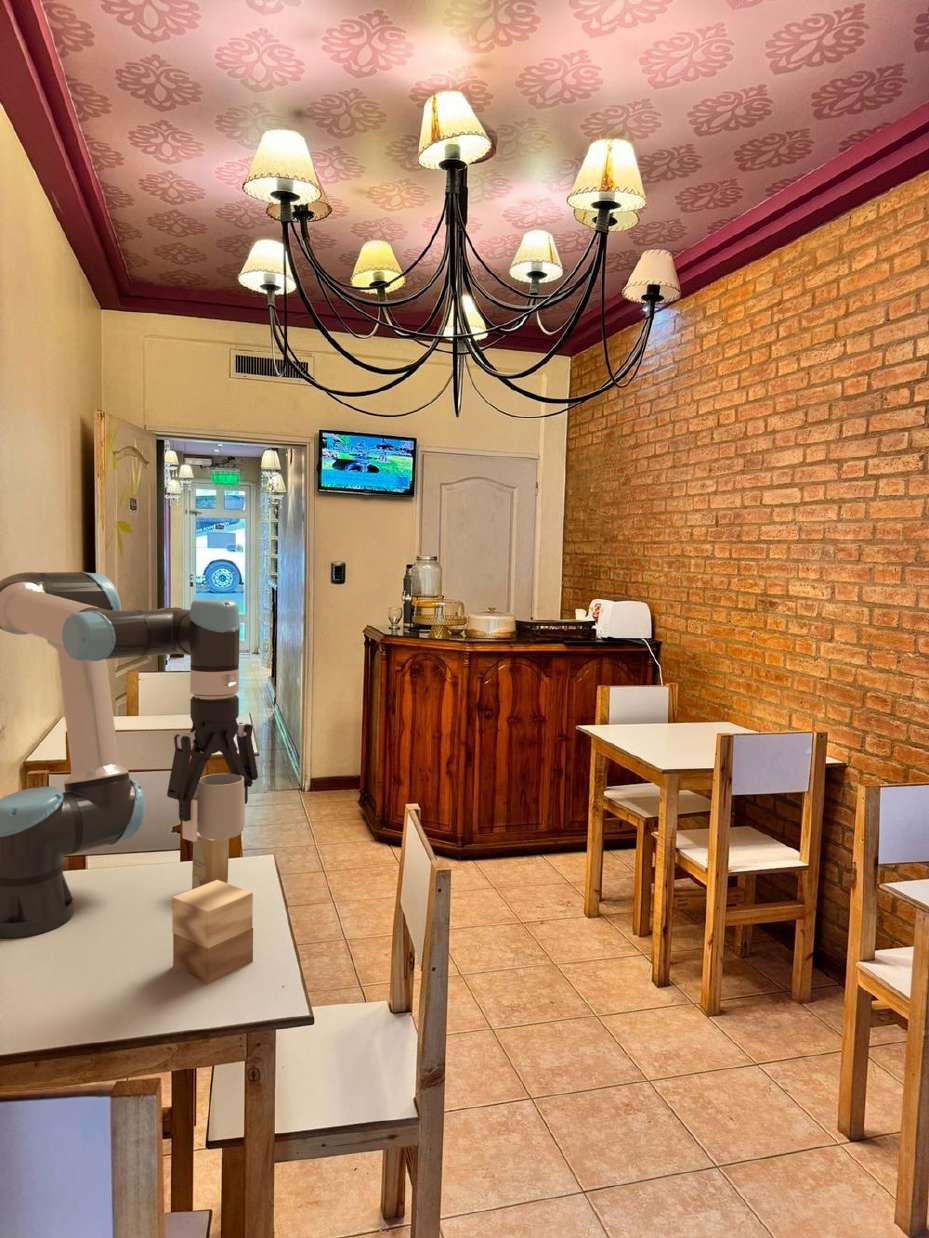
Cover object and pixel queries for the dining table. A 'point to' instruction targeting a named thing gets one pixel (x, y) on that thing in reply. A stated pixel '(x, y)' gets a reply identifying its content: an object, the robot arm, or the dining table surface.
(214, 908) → the beech block
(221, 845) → the skincare box
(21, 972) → the dining table surface
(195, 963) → the walnut block
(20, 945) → the dining table surface
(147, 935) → the dining table surface
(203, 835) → the cup
